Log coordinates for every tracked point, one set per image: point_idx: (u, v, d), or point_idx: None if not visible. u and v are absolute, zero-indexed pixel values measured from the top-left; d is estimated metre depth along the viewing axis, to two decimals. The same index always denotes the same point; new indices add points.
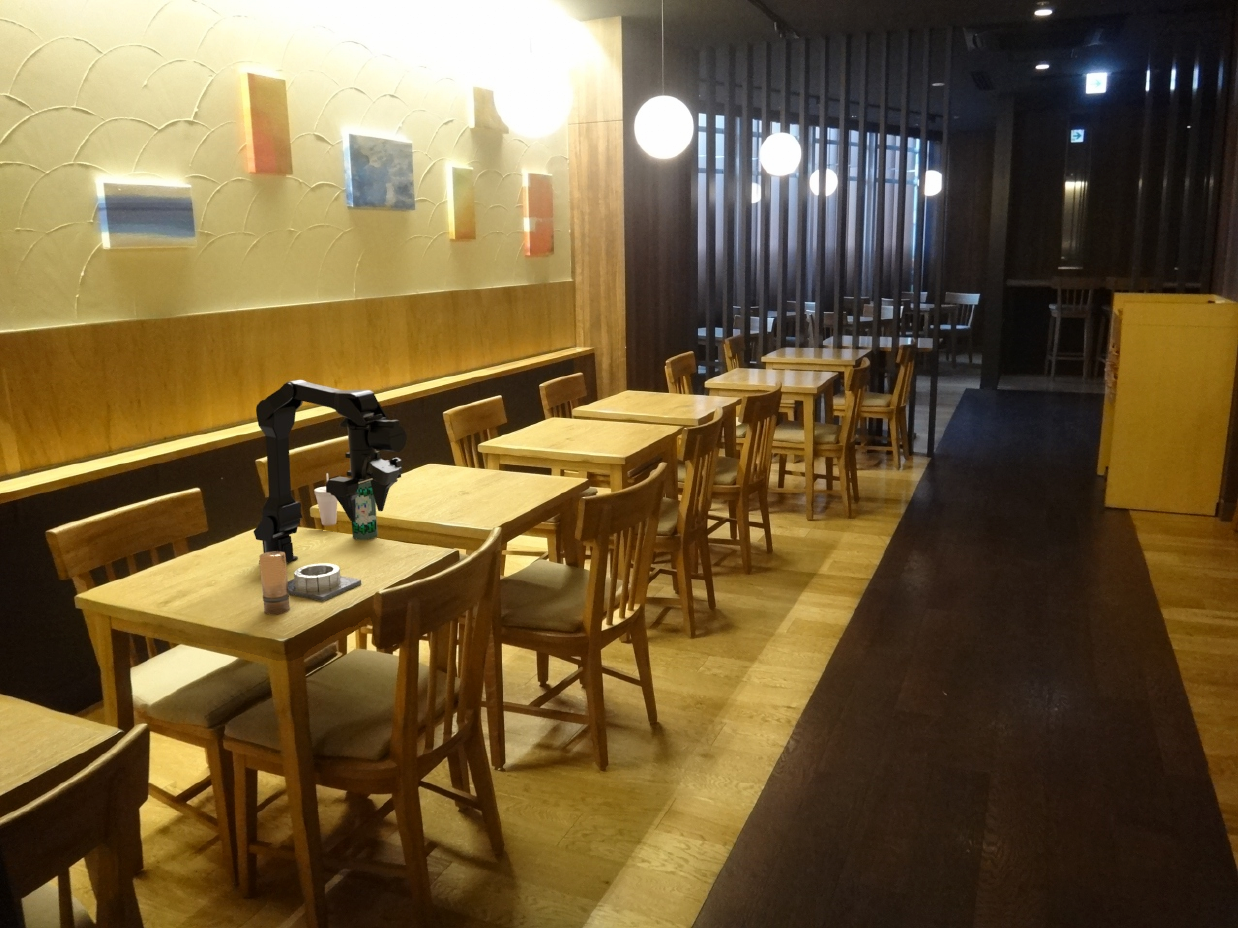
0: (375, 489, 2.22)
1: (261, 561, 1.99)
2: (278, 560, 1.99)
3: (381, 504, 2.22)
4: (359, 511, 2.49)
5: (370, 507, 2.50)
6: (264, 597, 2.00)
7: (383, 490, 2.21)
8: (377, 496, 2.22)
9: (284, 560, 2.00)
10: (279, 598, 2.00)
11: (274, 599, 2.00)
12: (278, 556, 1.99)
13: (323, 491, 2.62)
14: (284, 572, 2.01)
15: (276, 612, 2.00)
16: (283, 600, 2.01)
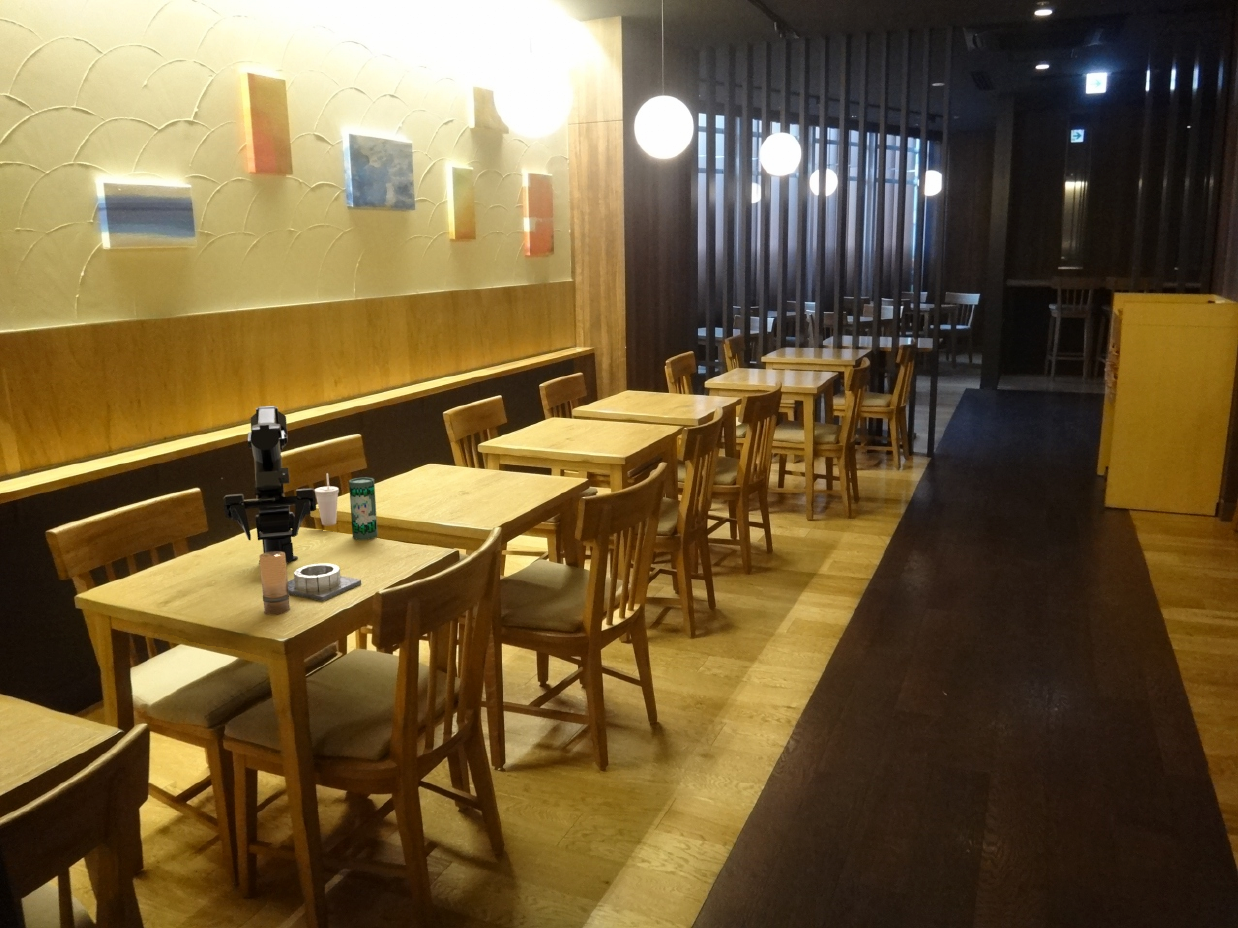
0: None
1: (261, 561, 1.99)
2: (278, 560, 1.99)
3: (294, 527, 2.09)
4: (359, 511, 2.49)
5: (370, 507, 2.50)
6: (264, 597, 2.00)
7: (295, 513, 2.10)
8: None
9: (284, 560, 2.00)
10: (279, 598, 2.00)
11: (274, 599, 2.00)
12: (278, 556, 1.99)
13: (323, 491, 2.62)
14: (285, 572, 2.01)
15: (276, 612, 2.00)
16: (283, 600, 2.01)
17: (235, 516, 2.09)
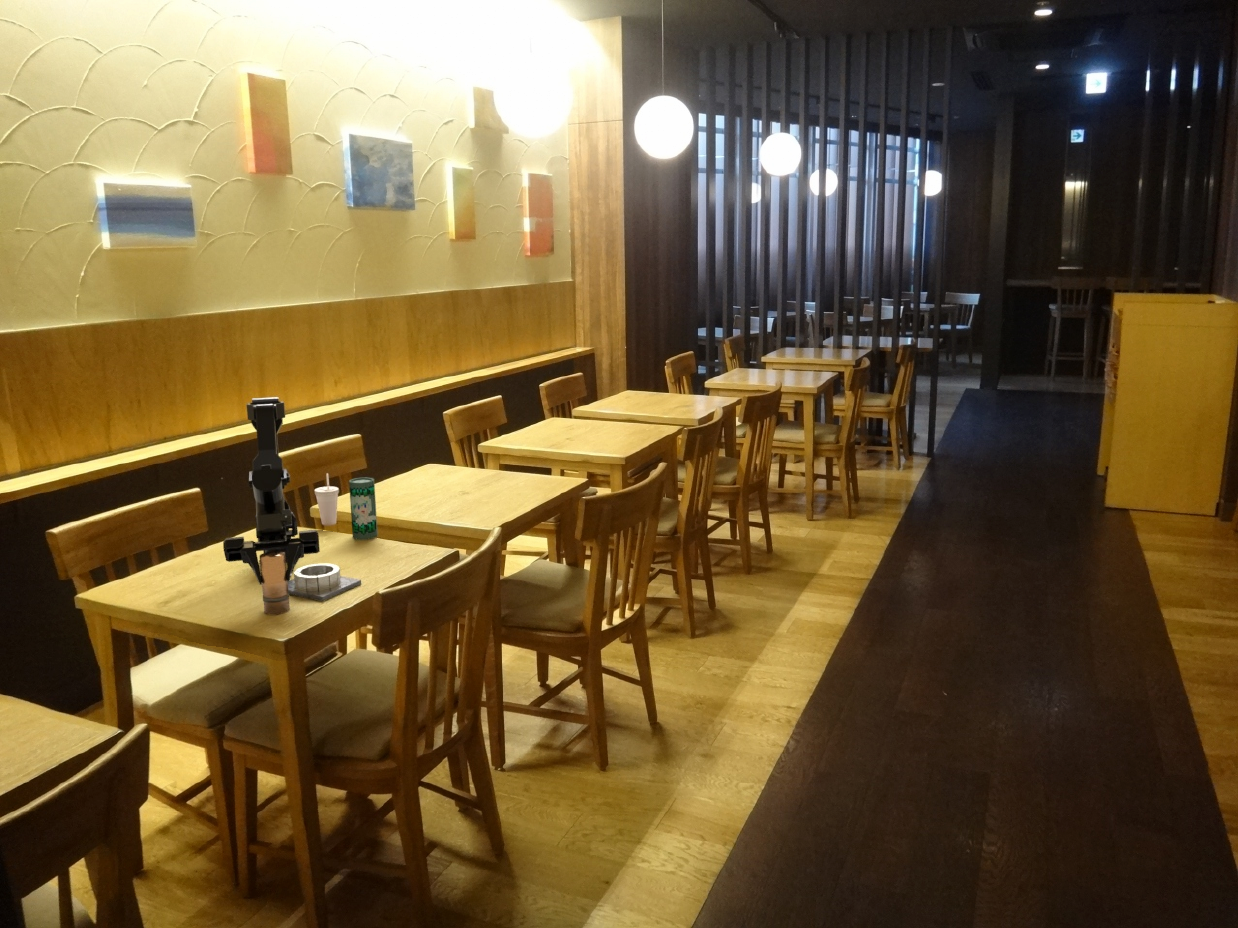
0: None
1: (261, 561, 1.99)
2: (278, 559, 1.99)
3: None
4: (359, 511, 2.49)
5: (370, 507, 2.50)
6: (264, 597, 2.00)
7: (288, 557, 2.03)
8: None
9: (284, 560, 2.00)
10: (279, 598, 2.00)
11: (274, 599, 2.00)
12: (278, 556, 1.99)
13: (323, 491, 2.62)
14: (285, 572, 2.01)
15: (276, 612, 2.00)
16: (283, 600, 2.01)
17: (246, 559, 2.03)
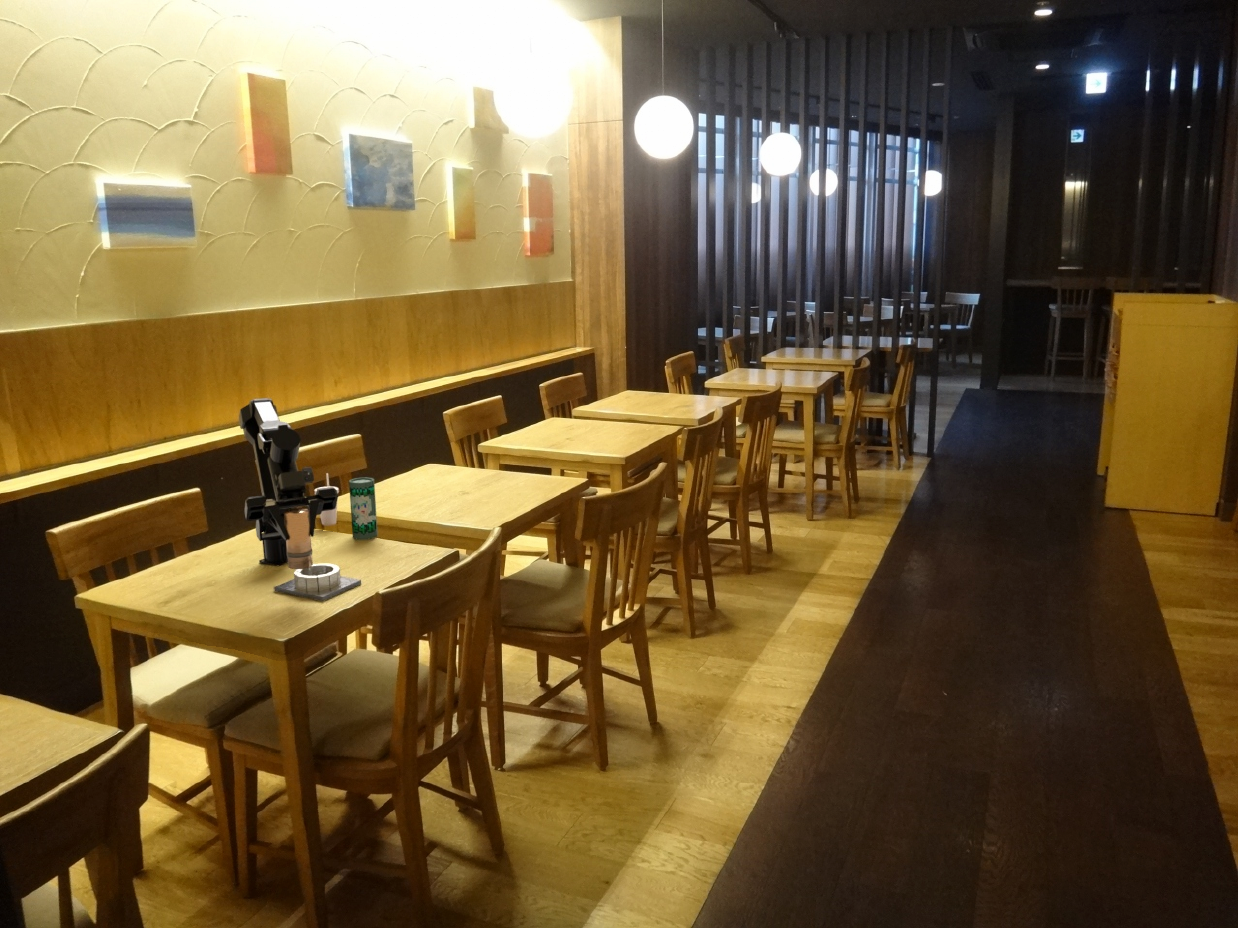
0: None
1: (287, 517, 2.04)
2: (304, 515, 2.04)
3: (310, 527, 2.07)
4: (359, 511, 2.49)
5: (370, 507, 2.50)
6: (289, 553, 2.06)
7: (309, 513, 2.09)
8: None
9: (308, 516, 2.06)
10: (305, 553, 2.06)
11: (300, 554, 2.05)
12: (303, 512, 2.05)
13: None
14: (309, 527, 2.06)
15: (302, 567, 2.06)
16: (308, 555, 2.07)
17: (267, 517, 2.07)
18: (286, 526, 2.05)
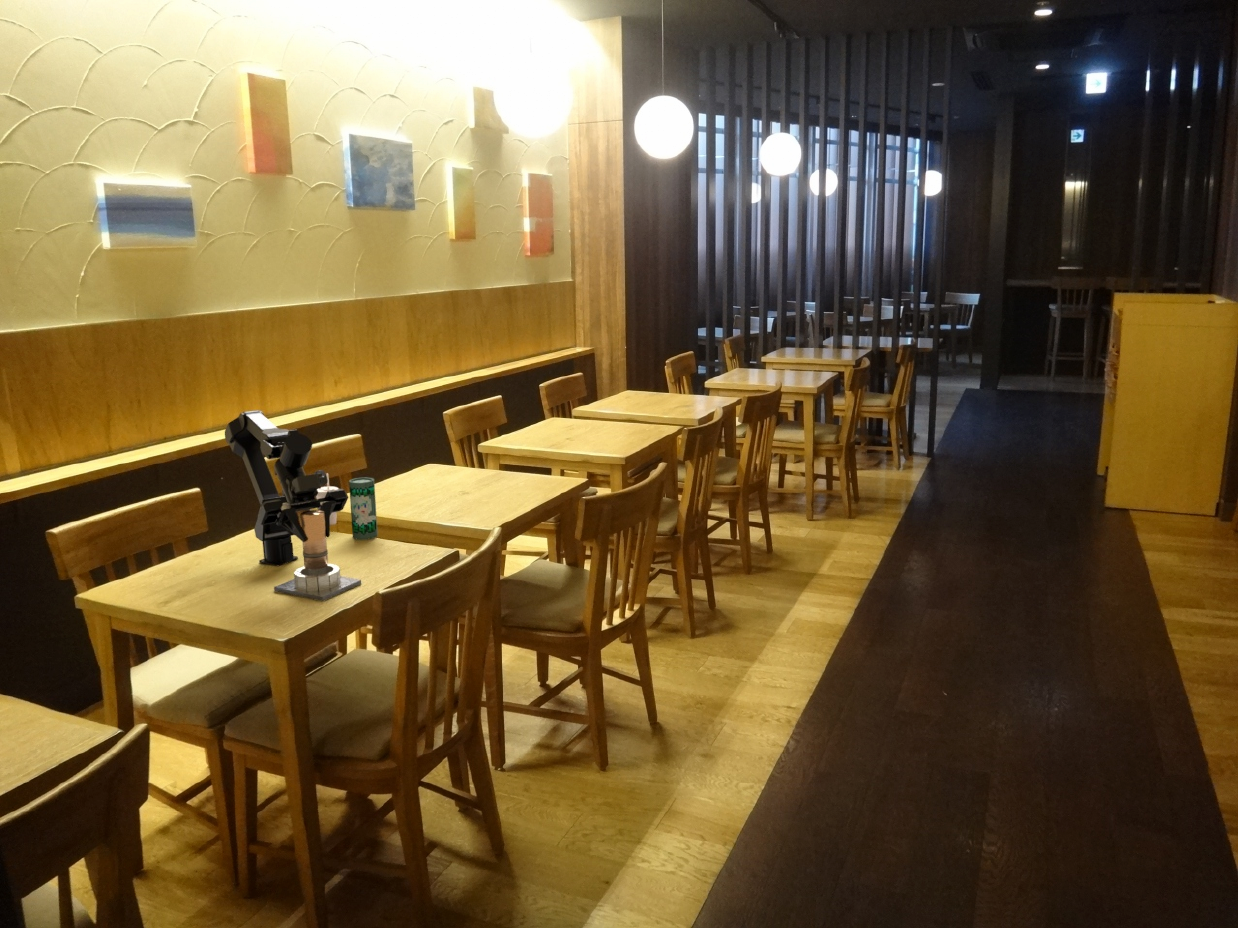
0: None
1: (305, 519, 2.10)
2: (321, 516, 2.11)
3: None
4: (359, 511, 2.49)
5: (370, 507, 2.50)
6: (307, 554, 2.12)
7: None
8: None
9: (324, 517, 2.13)
10: (322, 553, 2.13)
11: (318, 554, 2.12)
12: (320, 513, 2.12)
13: (323, 491, 2.62)
14: (325, 528, 2.13)
15: (320, 567, 2.13)
16: (325, 555, 2.14)
17: (282, 520, 2.12)
18: (304, 528, 2.11)
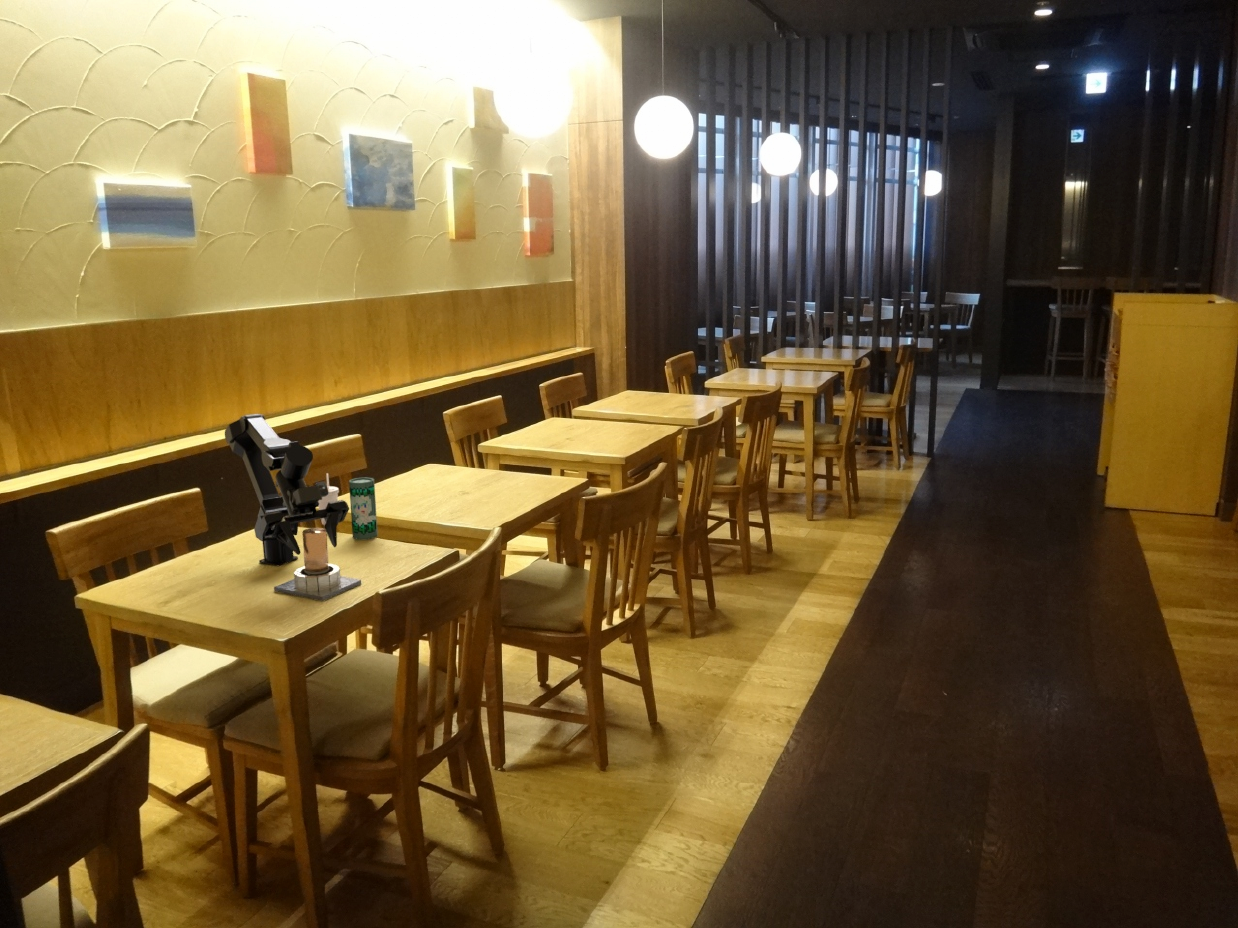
0: (327, 530, 2.18)
1: (307, 538, 2.11)
2: (323, 535, 2.12)
3: (332, 538, 2.16)
4: (359, 511, 2.49)
5: (370, 507, 2.50)
6: (309, 571, 2.13)
7: (330, 525, 2.17)
8: (329, 535, 2.17)
9: (326, 535, 2.14)
10: (324, 571, 2.14)
11: (320, 572, 2.13)
12: (322, 532, 2.12)
13: None
14: None
15: None
16: (327, 572, 2.14)
17: (276, 533, 2.12)
18: (305, 546, 2.11)
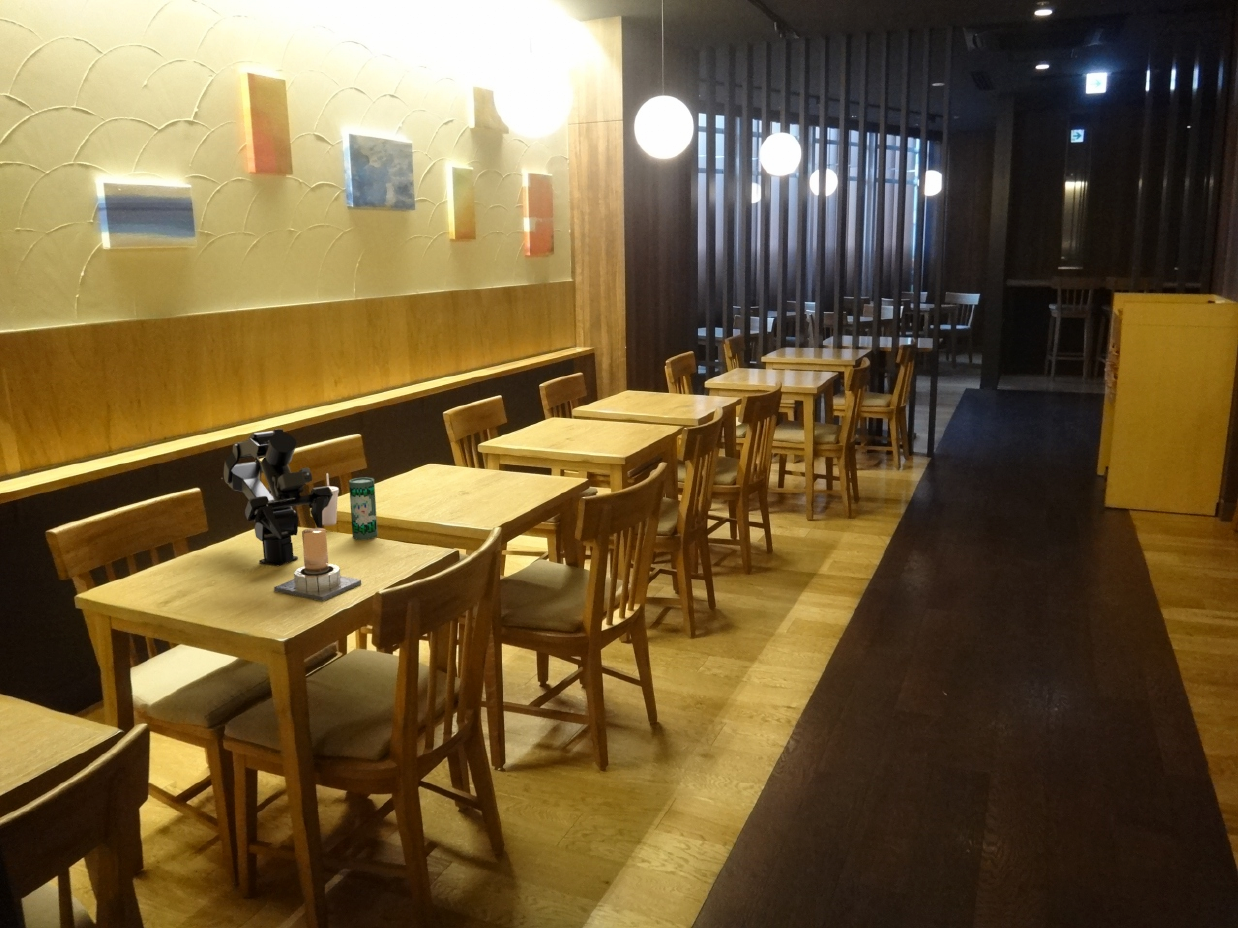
0: (313, 515, 2.25)
1: (306, 537, 2.11)
2: (323, 534, 2.12)
3: (318, 523, 2.22)
4: (359, 511, 2.49)
5: (370, 507, 2.50)
6: (309, 571, 2.13)
7: (316, 510, 2.24)
8: (315, 519, 2.24)
9: None
10: (324, 571, 2.14)
11: (320, 572, 2.13)
12: (322, 531, 2.13)
13: None
14: (326, 546, 2.14)
15: None
16: (327, 572, 2.14)
17: (259, 518, 2.18)
18: (305, 546, 2.12)
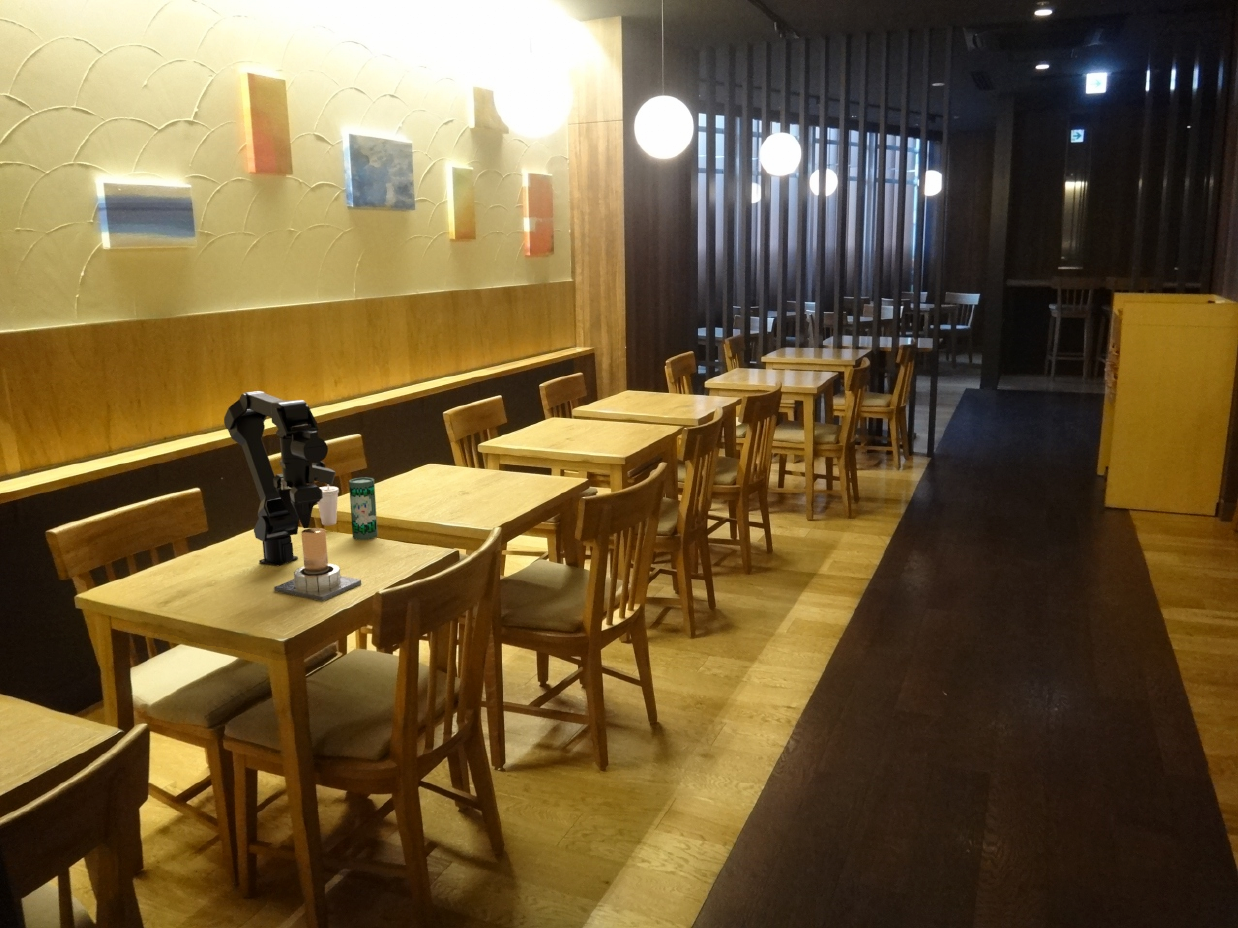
0: (286, 498, 2.25)
1: (306, 538, 2.11)
2: (322, 534, 2.12)
3: None
4: (359, 511, 2.49)
5: (370, 507, 2.50)
6: (309, 572, 2.13)
7: None
8: (290, 505, 2.26)
9: (325, 535, 2.14)
10: (324, 571, 2.14)
11: (320, 572, 2.13)
12: (321, 531, 2.13)
13: (323, 491, 2.62)
14: (326, 546, 2.14)
15: None
16: (327, 572, 2.14)
17: None
18: (305, 546, 2.12)
